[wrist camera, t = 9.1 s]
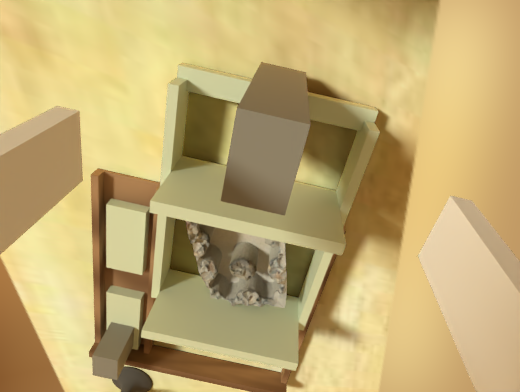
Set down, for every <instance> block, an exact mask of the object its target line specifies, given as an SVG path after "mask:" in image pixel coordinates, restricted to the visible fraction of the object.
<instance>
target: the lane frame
mask: <svg viewBox="0 0 520 392" xmlns="http://www.w3.org/2000/svg"><path fill="white" fill-rule="evenodd" d="M159 188H160V182H155V181H151V180H146V179H142V178H138V177H133V176H129V175H124V174H120V173H115V172H111V171H107V170H102V169H97V170H96V171H95V172H93V173H92V174H91V201H92V240H93V279H94V317H95V343H94V345H93V346H92V348H91V350H90V351H89V357H92V355H93V353H94V351H95V350H96V348H97V346H98V344H99V343H100V341H101V339H102V337H103V336H104V334H105V332H106V330H107V320H106V292H107V290H108V289H109V287H110V286H111V285H113V286H118V287H122V288H127V289H131V290H136V291H140V292H144V307H143V322H142V328H143V326H144V324H145V322H146V319H147V317H148V315H149V313H150V311H151V309H152V306H153V304H154V302H155V300H156V298H152V297H151V291H152V279H153V266H154V254H155V241H156V229H157V216H158V214H154V213H150V217H149V232H148V247H147V262H146V269H145V271H144V273H143V275H139V274H134V273H130V272H125V271H121V270H116V269H112V268H107V267H106V204H107V203H108V202H109V201H110V199H111V198H112V199H116V200H121V201H125V202H130V203H134V204H139V205H143V206H147V207H150V200H151V199H152V197H153V196H154V195H155V193H156V192H157V190H158V189H159ZM343 229H344V235H345V232H346V231H345V226H344V227H343ZM336 255H337V254H333V256H332V258H331V261H330V263H329V266H328V269H327V271H326V274H325V276H324V279H323V281H322V284H321V287H320V289H319V292H318V294H317V297H316V300H315V302H314V305H313V307H312V310H311V313H310V315H309V318H308V320H307V323H306V326H305V328H304V331H303V330H298V352H299V350H300V347H301V345H302V342H303V339H304V337H305V334H306V332H307V329H308V327H309V324H310V322H311V319H312V317H313V314H314V311H315V309H316V306H317V304H318V301H319V299H320V296H321V294H322V291H323V289H324V286H325V283H326V281H327V278H328V276H329V273H330V271H331V268H332V266H333V263H334V260H335V258H336ZM125 365H130V366H134V367H139V368H144V369H148V370H153V371H157V372H162V373H167V374H171V375H176V376H181V377H185V378H190V379H195V380H199V381H204V382H209V383H213V384H218V385H222V386H227V387H232V388H236V389H241V390H246V391H250V392H286V384H287V380H288V378H289V375H290V373H291V370H289V369H284V368H283V369H282V372H281V373H280V372H275V371H270V370H266V369H261V368H257V367H252V366H247V365H243V364H238V363H234V362H229V361H224V360H220V359H215V358H210V357H206V356H201V355H197V354H192V353H187V352H183V351H178V350H174V349H169V348H164V347H160V346H155V345H153V340H151V339H146V338H141V344H140V346H139V348H138V350H135V349H132V350H131V352H130V354H129V356H128V358H127V360H126V363H125Z"/></svg>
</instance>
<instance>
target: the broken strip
mask: <svg viewBox="0 0 520 392" xmlns="http://www.w3.org/2000/svg"><path fill="white" fill-rule="evenodd" d="M149 212H150V207H147V206H143V205H139V204H134V203H130V202H125V201H121V200H116V199H112V198H111V199H110V201H109V202H108V203H107V204H106V267H107V268H112V269H116V270H121V271H125V272H130V273H134V274H139V275H143V273H144V271H145V269H146V262H147V247H148V232H149V217H150V213H149ZM143 307H144V292H140V291H136V290H131V289H127V288H122V287H118V286H113V285H111V286H110V287H109V289H108V290H107V292H106V320H107V330H106V332H105V334H104V336H103V337H102V339H101V341H100V343H99V344H98V346H97V348H96V350H95V351H94V353H93V355H92V361H93V375H95V376H100V377H104V378H109V379H114V380H118V377H119V375H120V373H121V371H122V369H123V367H124V365H125V363H126V360H127V358H128V356H129V354H130V352H131V350H132V349H135V350H138V348H139V346H140V344H141V332H142V322H143Z"/></svg>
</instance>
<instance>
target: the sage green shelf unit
mask: <svg viewBox="0 0 520 392" xmlns="http://www.w3.org/2000/svg"><path fill="white" fill-rule="evenodd" d="M189 92H193V93H197V94H201V95H206V96H210V97H214V98H219V99H223V100H227V101H232V102H236V103H239V105H238V107H237V111H236V117H235V122H234V128H233V134H232V139H231V145H230V151H229V156H228V162H227V166H226V165H221V164H217V163H212V162H208V161H204V160H199V159H195V158H190V157H186V156H182V153H183V144H184V135H185V126H186V117H187V108H188V98H189ZM378 112H379V111H378V110H377V108H376V107H371V106H367V105H363V104H358V103H354V102H350V101H346V100H341V99H337V98H333V97H328V96H324V95H320V94H315V93H311V92H308V90H307V78H306V72H302V71H297V70H293V69H289V68H284V67H280V66H276V65H272V64H267V63H263V62H261V64H260V66H259V68H258V70H257V72H256V73H255V75H254V77H253V79H251V78H246V77H242V76H238V75H233V74H229V73H225V72H220V71H216V70H212V69H207V68H203V67H199V66H195V65H190V64H186V63H181V64H179V65H178V73H177V78H175V79H174V80H172V81H171V82H169V83H168V91H167V103H166V116H165V128H164V141H163V153H162V166H161V178H160V188H159V189H158V190H157V192H156V193H155V195H154V196H153V197H152V199H151V200H150V212H149V213H154V214H158V216H157V229H156V241H155V254H154V266H153V279H152V291H151V297H152V298H156V300H155V302H154V304H153V306H152V309H151V311H150V313H149V315H148V317H147V319H146V322H145V324H144V326H143V328H142V332H141V338H146V339H151V340H155V341H160V342H164V343H169V344H174V345H178V346H183V347H188V348H192V349H197V350H201V351H206V352H211V353H215V354H220V355H224V356H229V357H234V358H238V359H243V360H247V361H252V362H257V363H261V364H266V365H270V366H275V367H280V368H284V369H289V370H293V371H296V369H297V366H298V330H303V331H304V328H305V326H306V323H307V320H308V318H309V315H310V313H311V310H312V307H313V305H314V302H315V300H316V297H317V294H318V292H319V289H320V287H321V284H322V281H323V279H324V276H325V274H326V271H327V269H328V266H329V263H330V261H331V258H332V256H333V254H337V255H342V254H343V252H344V249H345V247H346V240H345V235H344V229H343V227H344V224H345V222H346V219H347V217H348V214H349V211H350V209H351V206H352V204H353V201H354V199H355V196H356V193H357V191H358V188H359V186H360V183H361V180H362V178H363V175H364V173H365V170H366V167H367V165H368V162H369V160H370V157H371V154H372V152H373V149H374V147H375V144H376V141H377V139H378V136H379V134H380V131H379V130H378V128H377V126H376V124H375V120H376V117H377V115H378ZM310 120H314V121H318V122H323V123H327V124H331V125H336V126H340V127H344V128H349V129H353V130H357V133H356V136H355V139H354V142H353V144H352V147H351V150H350V153H349V156H348V159H347V161H346V164H345V167H344V170H343V173H342V176H341V178H340V181H339V184H338V187H337V190H331V189H327V188H322V187H318V186H314V185H309V184H305V183H300V182H296V181H295V178H296V174H297V171H298V167H299V164H300V160H301V157H302V153H303V150H304V146H305V143H306V139H307V136H308V132H309V129H310V125H311V123H310ZM175 218H176V219H181V220H185V221H190V222H194V223H198V224H203V225H207V226H212V227H216V228H221V229H225V230H230V231H234V232H239V233H243V234H248V235H252V236H257V237H261V238H266V239H270V240H274V241H279V242H283V243H288V244H292V245H297V246H301V247H306V248H310V249H315V252H314V255H313V258H312V261H311V264H310V266H309V269H308V272H307V275H306V278H305V281H304V283H303V286H302V289H301V292H300V295H299V298H298V297H294V296H289V295H286V305H285V308H280V307H274V306H271V305H268V304H266V305H264V306H262V307H259V306H254V305H250V306H247V305H244V304H238V305H235V306H232V305H231V303H230V302H229V301H228V300H224V299H221V298H220V299H216V298H211V297H210V290H209V289H208V288H207V287H206V284H205V282H204V281H203V279H202V277H201V276H199V275H194V274H190V273H185V272H180V271H176V270H171V269H170V264H171V254H172V245H173V236H174V227H175Z"/></svg>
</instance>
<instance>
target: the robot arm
mask: <svg viewBox="0 0 520 392" xmlns="http://www.w3.org/2000/svg"><path fill="white" fill-rule="evenodd" d="M82 181H83V177H82V156H81V136H80V115H79V111H77V110H73V109H69V108H64V107H60V106H56V107H54V108H52V109H50V110H48V111H46V112H44V113H42V114H40V115H38V116H36V117H34V118H32V119H30V120H28V121H26V122H24V123H22V124H20V125H18V126H16V127H14V128H12V129H10V130H8V131H6V132H4V133H2V134H0V254H1V253H2V252H4V251H5V250H6V249H7V248H8V247H9V246H10V245H11V244H13V243H14V242H15V241H16V240H17V239H18V238H19V237H20V236H21V235H23V234H24V233H25V232H26V231H27V230H28V229H29V228H30V227H31V226H33V225H34V224H35V223H36V222H37V221H38V220H39V219H40V218H41V217H43V216H44V215H45V214H46V213H47V212H48V211H49V210H50V209H52V208H53V207H54V206H55V205H56V204H57V203H58V202H59V201H60V200H62V199H63V198H64V197H65V196H66V195H67V194H68V193H69V192H70V191H72V190H73V189H74V188H75V187H76V186H77V185H78V184H79V183H80V182H82ZM418 258H419V260H420V262H421V265H422V267H423V269H424V271H425V274H426V276H427V279H428V281H429V283H430V286H431V288H432V290H433V293H434V295H435V297H436V299H437V302H438V304H439V307H440V309H441V311H442V314H443V316H444V318H445V320H446V323H447V325H448V327H449V330H450V332H451V334H452V337H453V339H454V341H455V344H456V346H457V348H458V351H459V353H460V355H461V358H462V360H463V362H464V364H465V367H466V369H467V372H468V374H469V376H470V378H471V381H472V383H473V385H474V388H475V390H476V392H520V261H519V260H518V259H517V257H516V256H515V255H514V253H513V252H512V251H511V250H510V249H509V247H508V246H507V244H506V243H505V242H504V241H503V240H502V238H501V237H500V236H499V234H498V233H497V232H496V231H495V229H494V228H493V227H492V226H491V224H490V223H489V222H488V220H487V219H486V218H485V217H484V215H483V214H482V213H481V212H480V210H479V209H478V208H477V207H476V206H475V204H474V203H473V202H472V201H471V200H467V199H463V198H458V197H454V196H450V198H449V199H448V201H447V203H446V205H445V207H444V209H443V210H442V212H441V214H440V216H439V218H438V220H437V221H436V223H435V225H434V227H433V229H432V231H431V232H430V234H429V236H428V238H427V240H426V242H425V243H424V245H423V247H422V249H421V251H420V253H419V254H418Z"/></svg>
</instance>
